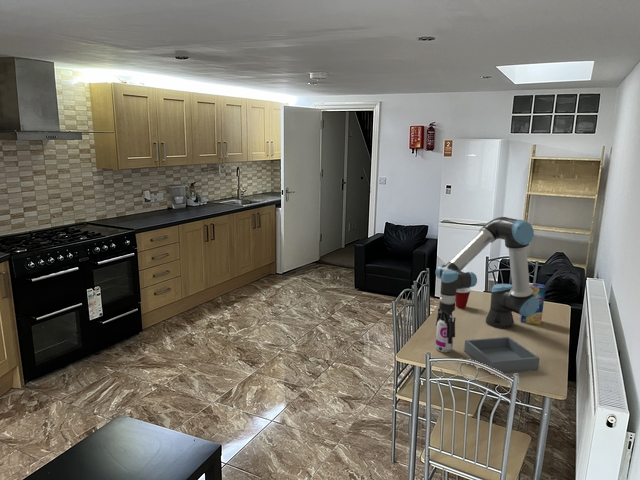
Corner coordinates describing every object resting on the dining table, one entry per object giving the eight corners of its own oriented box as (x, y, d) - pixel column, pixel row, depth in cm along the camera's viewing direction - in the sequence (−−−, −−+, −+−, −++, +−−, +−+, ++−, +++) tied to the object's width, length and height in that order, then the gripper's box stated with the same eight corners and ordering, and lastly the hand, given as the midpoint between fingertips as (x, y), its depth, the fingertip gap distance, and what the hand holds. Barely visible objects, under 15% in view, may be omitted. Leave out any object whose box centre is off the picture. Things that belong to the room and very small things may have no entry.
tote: (507, 347, 245) (508, 336, 243) (538, 369, 222) (539, 357, 221) (464, 351, 239) (465, 340, 238) (491, 374, 217) (492, 362, 215)
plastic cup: (448, 304, 307) (450, 286, 304) (465, 303, 308) (466, 285, 306) (455, 310, 296) (457, 291, 294) (472, 309, 298) (474, 291, 295)
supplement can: (452, 353, 237) (455, 325, 233) (435, 352, 238) (437, 323, 235) (451, 346, 244) (454, 319, 241) (434, 345, 246) (437, 317, 243)
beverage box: (519, 318, 286) (523, 282, 281) (539, 320, 283) (544, 284, 278) (520, 322, 279) (524, 285, 275) (541, 324, 276) (545, 287, 272)
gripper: (430, 295, 245) (427, 337, 250) (450, 309, 225) (447, 355, 230) (444, 294, 247) (441, 336, 252) (465, 308, 227) (461, 353, 232)
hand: (444, 345), depth 241 cm, fingers closed on supplement can, 8 cm apart
